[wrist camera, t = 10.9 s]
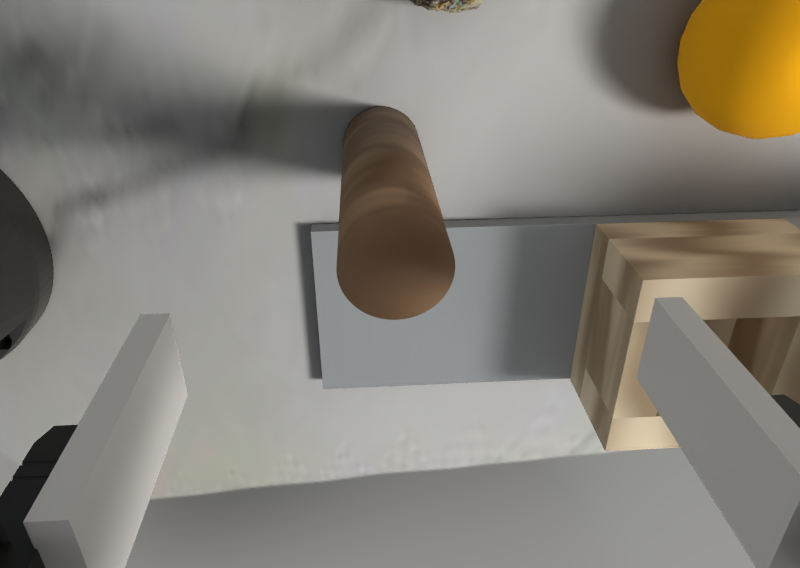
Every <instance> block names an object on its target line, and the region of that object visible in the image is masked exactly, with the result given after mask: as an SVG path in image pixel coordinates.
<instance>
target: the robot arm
mask: <svg viewBox="0 0 800 568" xmlns="http://www.w3.org/2000/svg"><path fill="white" fill-rule="evenodd" d="M52 286H53V260H52V254H51V249H50V246H49V242H48V239H47V236H46V233H45V231H44V229H43V226H42V224H41V222H40V220H39V218H38V216H37V214H36V213H35V211H34V209H33V208H32V206H31V205H30V203H29V202H28V200H27V199H26V198H25V196H24V195H23V193H22V192H21V191H20V190H19V189H18V187H17V186H16V185H15V184H14V183H13V182H12V181H11V179H10V178H9V177H8V176H7V175H6V174H5V173H4V172H3V171H2V170H1V169H0V360H1V359H2V358H4V357H5V356H6V355H7V354H9V353H10V352H11V351H12V350H13V349H15V348H16V347H17V346H18V345H19V344H20V342H21V341H22V340H23V339H24V338H25V336H26V335H27V334H28V333H29V331H30V330H31V329H32V328H33V326H34V325H35V324H36V323H37V322H38V320H39V319H40V317H41V316H42V314H43V312H44V310H45V309H46V306H47V304H48V302H49V298H50V295H51V291H52ZM636 378H637V379H638V381H639V383H640V384H641V386H642V387H643V389H644V390H645V392H646V394H647V395H648V397H649V398H650V400H651V402H652V403H653V405H654V406H655V408H656V410H657V411H658V413H659V414H660V416H661V417H662V419H663V421H664V422H665V424H666V425H667V427H668V429H669V430H670V432H671V433H672V435H673V437H674V438H675V440H676V441H677V443H678V444H679V446H680V448H681V449H682V451H683V452H684V454H685V455H686V457H687V459H688V460H689V462H690V464H691V465H692V466H693V468H694V470H695V471H696V473H697V475H698V476H699V477H700V479H701V481H702V483H703V484H704V486H705V487H706V489H707V490H708V492H709V494H710V495H711V497H712V498H713V500H714V502H715V503H716V505H717V506H718V508H719V510H720V511H721V513H722V514H723V516H724V518H725V519H726V521H727V522H728V524H729V526H730V527H731V529H732V530H733V531H734V533H735V535H736V537H737V538H738V540H739V541H740V543H741V545H742V546H743V547H744V549H745V551H746V553H747V554H748V556H749V557H750V559H751V560H752V562H753V564H754V565H755V567H756V568H800V404H798V403H797V402H795V401H793V400H792V399H790V398H789V397H787V396H786V395H784V394H782V395H769V393H768V392H767V391H766V390H765V389H764V388H763V387H762V386H761V385H760V383H759V382H758V381H757V380H756V379H755V378H754V377H753V376H752V374H751V373H750V372H749V371H748V370H747V369H746V368H745V367H744V366H743V364H742V363H741V362H740V361H739V360H738V359H737V358H736V357H735V355H734V354H733V353H732V352H731V351H730V350H729V349H728V348H727V347H726V345H725V344H724V343H723V342H722V341H721V340H720V339H719V338H718V336H717V335H716V334H715V333H714V332H713V331H712V330H711V329H710V328H709V326H708V325H707V324H706V323H705V322H704V321H703V320H702V319H701V317H700V316H699V315H698V314H697V313H696V312H695V311H694V310H693V308H692V307H691V306H690V305H689V304H688V303H687V302H686V301H685V300H684V298H683V297H666V298H655V300H654V305H653V309H652V313H651V317H650V322H649V326H648V330H647V334H646V339H645V343H644V347H643V351H642V356H641V360H640V364H639V368H638V373H637V377H636ZM187 396H188V394H187V389H186V385H185V380H184V375H183V371H182V366H181V362H180V357H179V352H178V348H177V343H176V338H175V334H174V329H173V325H172V320H171V315H170V314H141V315H140V316H139V318H138V320H137V322H136V323H135V325H134V327H133V329H132V331H131V332H130V334H129V336H128V338H127V339H126V341H125V343H124V345H123V346H122V348H121V350H120V352H119V353H118V355H117V357H116V359H115V361H114V362H113V364H112V366H111V368H110V369H109V371H108V373H107V375H106V376H105V378H104V380H103V382H102V384H101V385H100V387H99V389H98V391H97V392H96V394H95V396H94V398H93V399H92V401H91V403H90V405H89V406H88V408H87V410H86V412H85V414H84V415H83V417H82V419H81V421H80V422H79V424H78V425H65V426H54V427H52V428H51V429H50V430H49V431H48V432H47V433H45V434H44V435H43V436H42V437H41V438H40V439H38V440H37V441H36V442H35V443H34V444H33V446H32V447H31V449H30V451H29V452H28V454H27V455H26V457H25V458H24V460H23V462H22V466H19V468H18V469H17V471H16V473H15V474H14V476H13V480H12V481H10V482H9V484H8V486H7V487H6V488H5V490H4V492H3V493H2V495H1V496H0V568H125V566H126V563H127V560H128V557H129V555H130V552H131V549H132V546H133V544H134V541H135V538H136V535H137V533H138V530H139V527H140V525H141V522H142V519H143V516H144V514H145V511H146V508H147V505H148V503H149V500H150V497H151V494H152V492H153V489H154V486H155V483H156V481H157V478H158V475H159V473H160V470H161V467H162V464H163V462H164V459H165V456H166V453H167V451H168V448H169V445H170V442H171V440H172V437H173V434H174V431H175V429H176V426H177V423H178V421H179V418H180V415H181V412H182V410H183V407H184V404H185V401H186V399H187Z"/></svg>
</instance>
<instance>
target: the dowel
mask: <svg viewBox="0 0 800 568" xmlns="http://www.w3.org/2000/svg"><path fill="white" fill-rule="evenodd" d="M336 272H337V279H338V283H339V286H340V288H341V290H342V292H343V294H344V295H345V297H346V298H347V299H348V300H349V301H350V303H352V304H353V305H354V306H355V307H356V308H358V309H359V310H360V311H362V312H364V313H366V314H368V315H371V316H373V317H377V318H381V319H387V320H401V319H407V318H412V317H415V316H418V315H420V314H423V313H425V312H426V311H428V310H430V309H431V308H433V307H434V306H435V305H437V304H438V303H439V302H440V301H441V300H442V299H443V297H444V296H445V295H446V294H447V292H448V290H449V289H450V287H451V284H452V282H453V278H454V274H455V258H454V253H453V250H452V246H451V243H450V240H449V237H448V233H447V230H446V227H445V223H444V220H443V217H442V213H441V210H440V207H439V203H438V200H437V197H436V193H435V190H434V187H433V183H432V180H431V177H430V173H429V170H428V167H427V163H426V160H425V157H424V153H423V150H422V147H421V143H420V140H419V137H418V134H417V130H416V128H415V126H414V124H413V123H412V121H411V120H410V119H409V118H408V117H407V116H406V115H405V114H403V113H402V112H400V111H398V110H396V109H393V108H390V107H373V108H369V109H367V110H364V111H363V112H361V113H359V114H358V115H357V116H356V117H355V118H354V119H353V120H352V121H351V122H350V124H349V125H348V127H347V129H346V132H345V136H344V145H343V162H342V179H341V196H340V214H339V231H338V248H337V267H336Z"/></svg>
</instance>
